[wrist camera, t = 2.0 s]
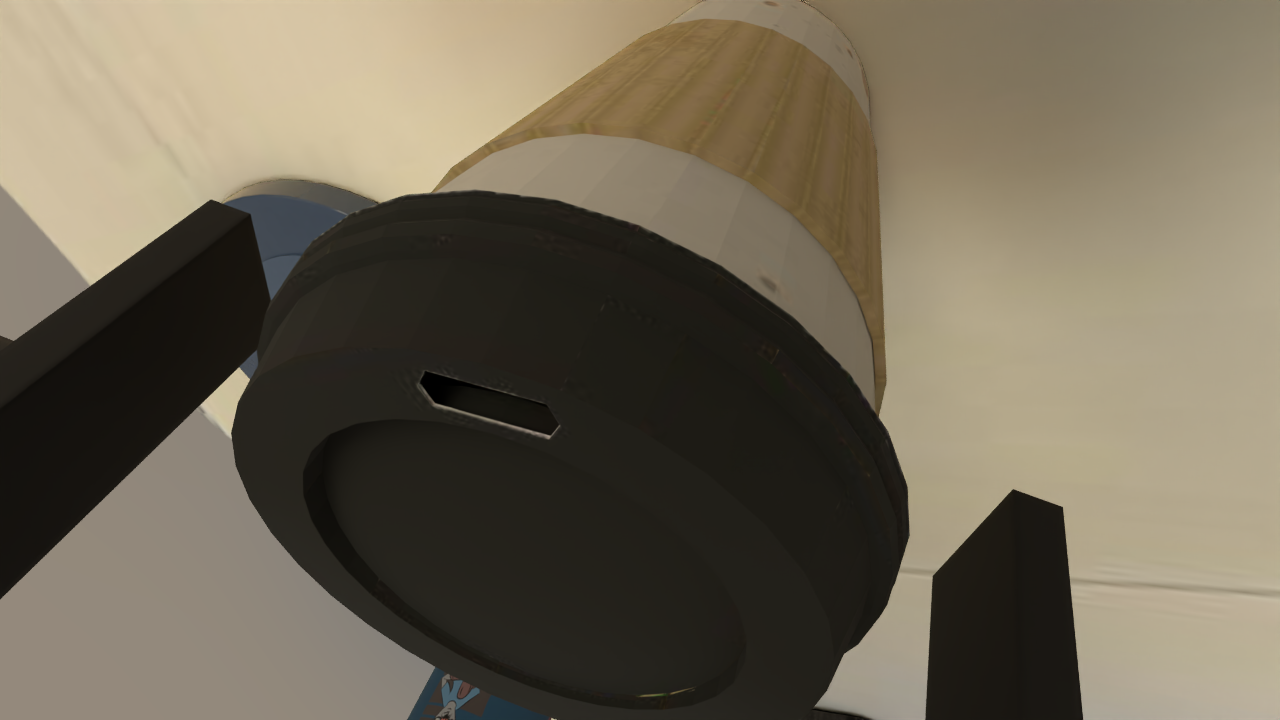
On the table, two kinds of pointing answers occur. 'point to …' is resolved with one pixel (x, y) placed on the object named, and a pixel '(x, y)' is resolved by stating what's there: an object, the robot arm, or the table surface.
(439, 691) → the soda can
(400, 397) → the coffee cup
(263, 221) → the plate
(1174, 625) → the table surface
